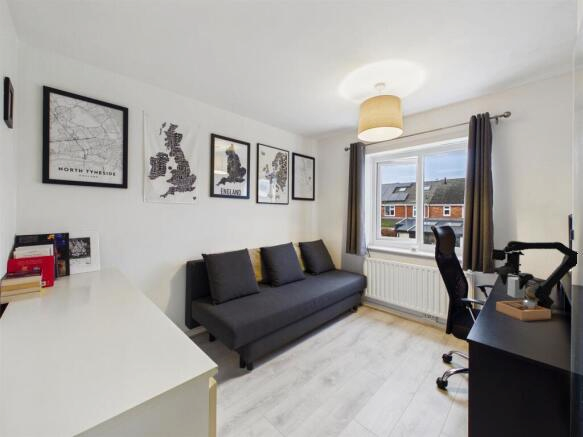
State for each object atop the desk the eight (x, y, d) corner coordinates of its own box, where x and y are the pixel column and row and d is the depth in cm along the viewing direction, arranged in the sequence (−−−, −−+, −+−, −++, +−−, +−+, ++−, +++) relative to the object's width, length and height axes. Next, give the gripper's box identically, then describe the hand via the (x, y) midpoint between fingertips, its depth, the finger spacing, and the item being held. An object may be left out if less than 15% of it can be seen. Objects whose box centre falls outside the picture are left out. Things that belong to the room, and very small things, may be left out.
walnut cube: (515, 311, 139) (515, 302, 139) (524, 315, 134) (525, 306, 134) (507, 311, 138) (508, 303, 138) (516, 315, 133) (517, 306, 133)
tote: (522, 308, 145) (523, 300, 145) (550, 319, 131) (550, 309, 131) (496, 310, 142) (496, 301, 142) (521, 320, 128) (522, 311, 128)
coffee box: (523, 301, 157) (524, 276, 157) (532, 301, 158) (533, 276, 157) (539, 306, 148) (539, 280, 148) (548, 306, 149) (549, 280, 148)
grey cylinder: (520, 311, 139) (520, 299, 139) (526, 310, 140) (526, 298, 140) (530, 315, 134) (531, 302, 134) (537, 314, 135) (537, 301, 135)
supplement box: (527, 299, 162) (527, 280, 161) (514, 298, 163) (514, 279, 163) (519, 295, 169) (519, 277, 169) (507, 294, 170) (507, 276, 170)
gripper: (487, 258, 155) (486, 283, 156) (518, 265, 137) (517, 292, 137) (501, 258, 157) (501, 282, 157) (534, 264, 139) (533, 291, 139)
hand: (512, 287), depth 148 cm, fingers open, 9 cm apart
